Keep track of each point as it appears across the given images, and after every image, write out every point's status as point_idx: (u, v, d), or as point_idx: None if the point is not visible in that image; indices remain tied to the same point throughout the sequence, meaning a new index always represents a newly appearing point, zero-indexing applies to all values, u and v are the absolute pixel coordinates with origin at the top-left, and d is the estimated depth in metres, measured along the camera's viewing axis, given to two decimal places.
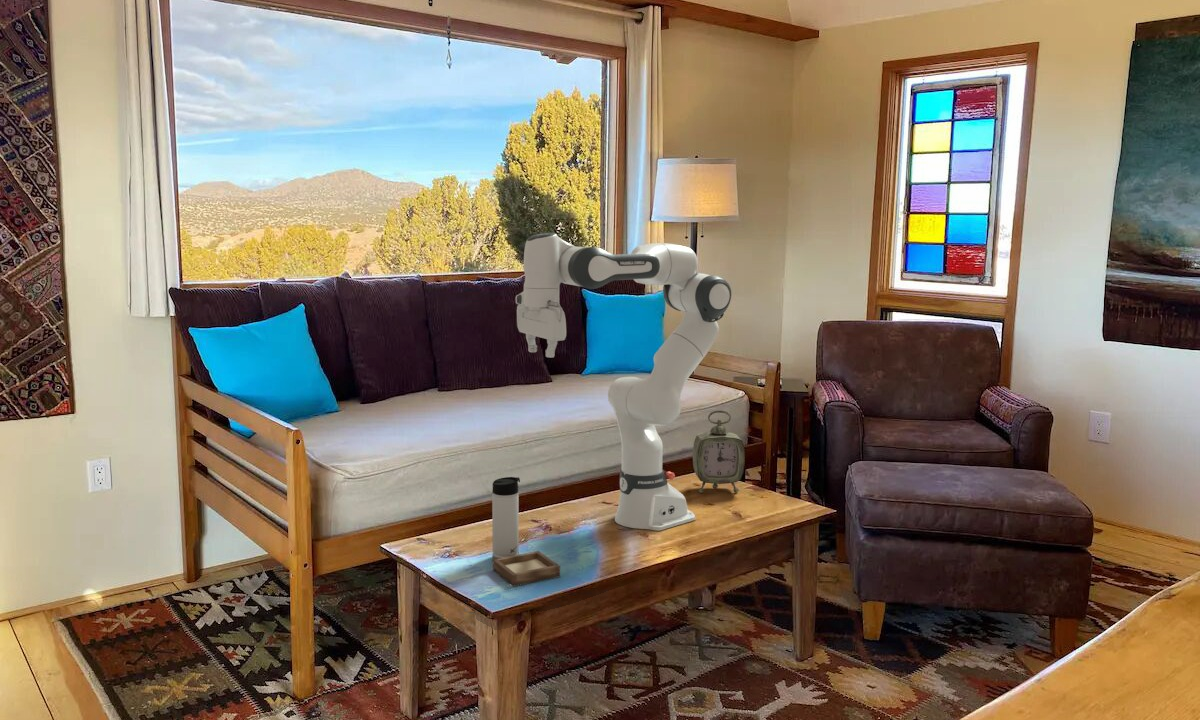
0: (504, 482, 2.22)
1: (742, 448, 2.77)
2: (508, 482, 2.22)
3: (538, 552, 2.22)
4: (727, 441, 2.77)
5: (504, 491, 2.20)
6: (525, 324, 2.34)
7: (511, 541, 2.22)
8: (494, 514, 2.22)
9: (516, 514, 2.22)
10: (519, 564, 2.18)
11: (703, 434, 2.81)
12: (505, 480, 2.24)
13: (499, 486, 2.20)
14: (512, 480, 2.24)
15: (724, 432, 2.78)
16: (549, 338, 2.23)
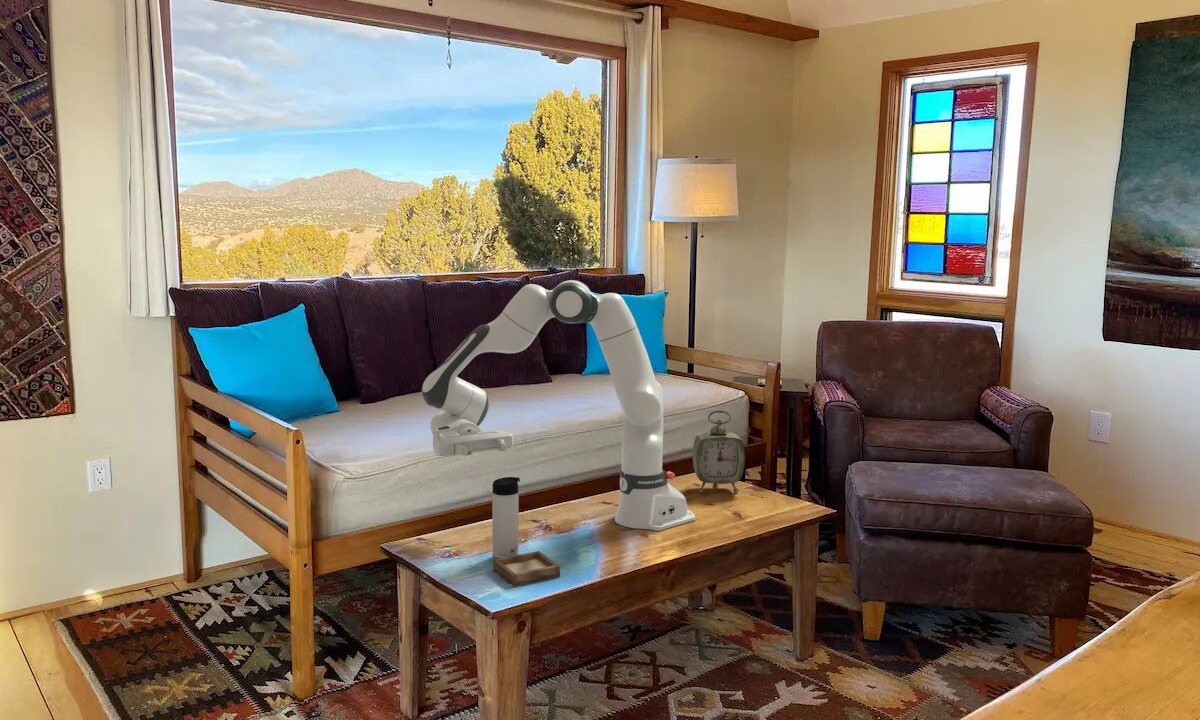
0: (504, 482, 2.22)
1: (742, 448, 2.77)
2: (508, 482, 2.22)
3: (538, 552, 2.22)
4: (727, 441, 2.77)
5: (504, 491, 2.20)
6: (455, 439, 2.34)
7: (511, 541, 2.22)
8: (494, 514, 2.22)
9: (516, 514, 2.22)
10: (519, 564, 2.18)
11: (703, 434, 2.81)
12: (505, 480, 2.24)
13: (499, 486, 2.20)
14: (512, 480, 2.24)
15: (724, 432, 2.78)
16: (505, 435, 2.40)
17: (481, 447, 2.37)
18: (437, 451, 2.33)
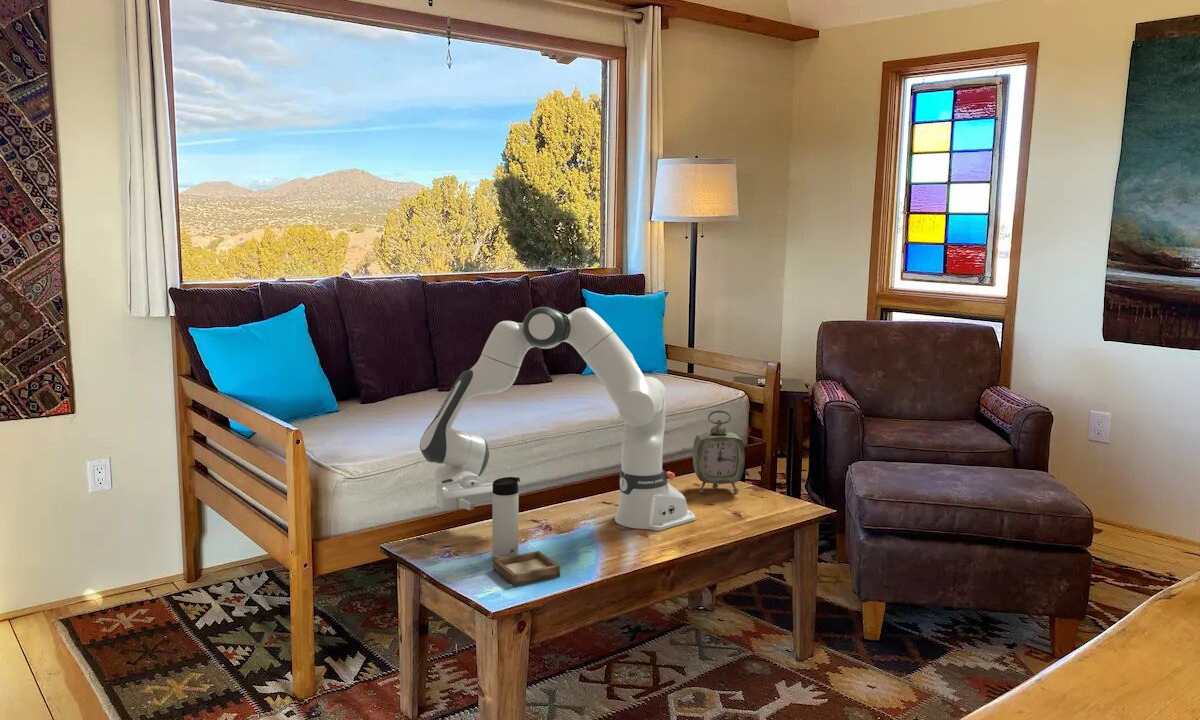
0: (504, 482, 2.22)
1: (742, 448, 2.77)
2: (508, 482, 2.22)
3: (538, 552, 2.22)
4: (727, 441, 2.77)
5: (504, 491, 2.20)
6: (458, 492, 2.35)
7: (511, 541, 2.22)
8: (494, 514, 2.22)
9: (516, 514, 2.22)
10: (519, 564, 2.18)
11: (703, 434, 2.81)
12: (505, 480, 2.24)
13: (499, 486, 2.20)
14: (512, 480, 2.24)
15: (724, 432, 2.78)
16: None
17: (484, 500, 2.37)
18: (440, 505, 2.33)
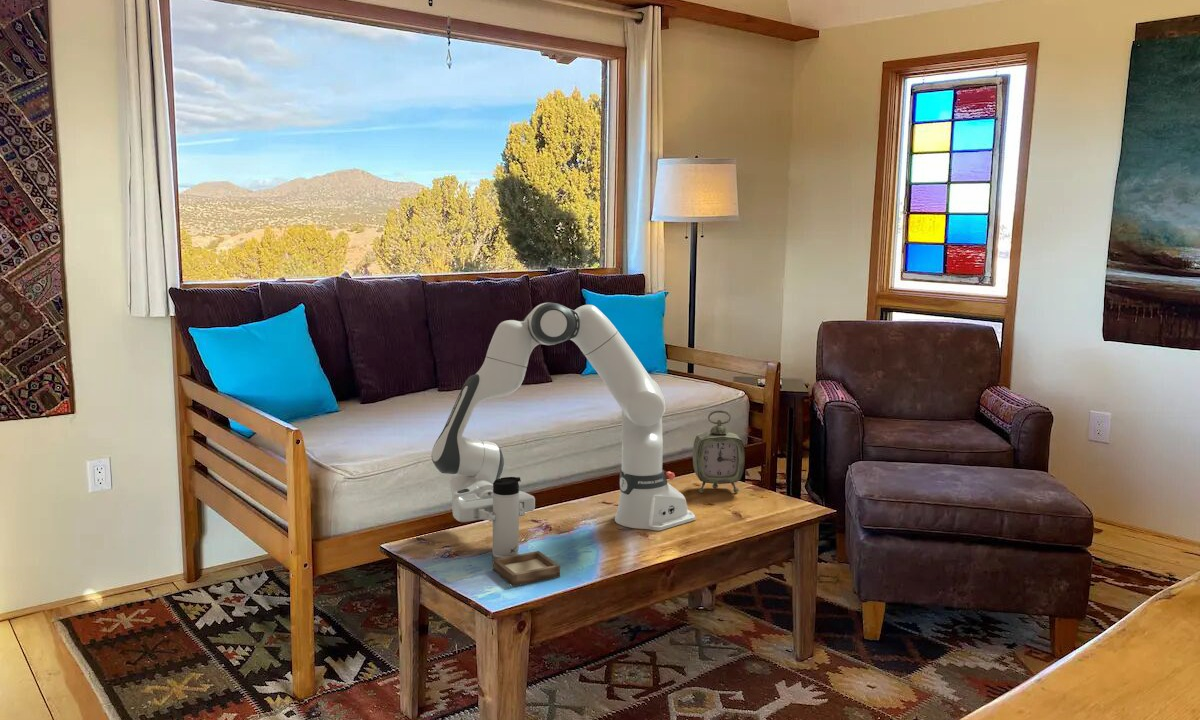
0: (505, 482, 2.23)
1: (742, 448, 2.77)
2: (509, 482, 2.22)
3: (538, 552, 2.22)
4: (727, 441, 2.77)
5: (504, 490, 2.20)
6: (475, 503, 2.26)
7: (511, 541, 2.22)
8: None
9: (516, 514, 2.22)
10: (519, 564, 2.18)
11: (703, 434, 2.81)
12: (506, 480, 2.24)
13: (500, 486, 2.20)
14: (513, 480, 2.24)
15: (724, 432, 2.78)
16: (527, 498, 2.31)
17: None
18: (456, 516, 2.24)
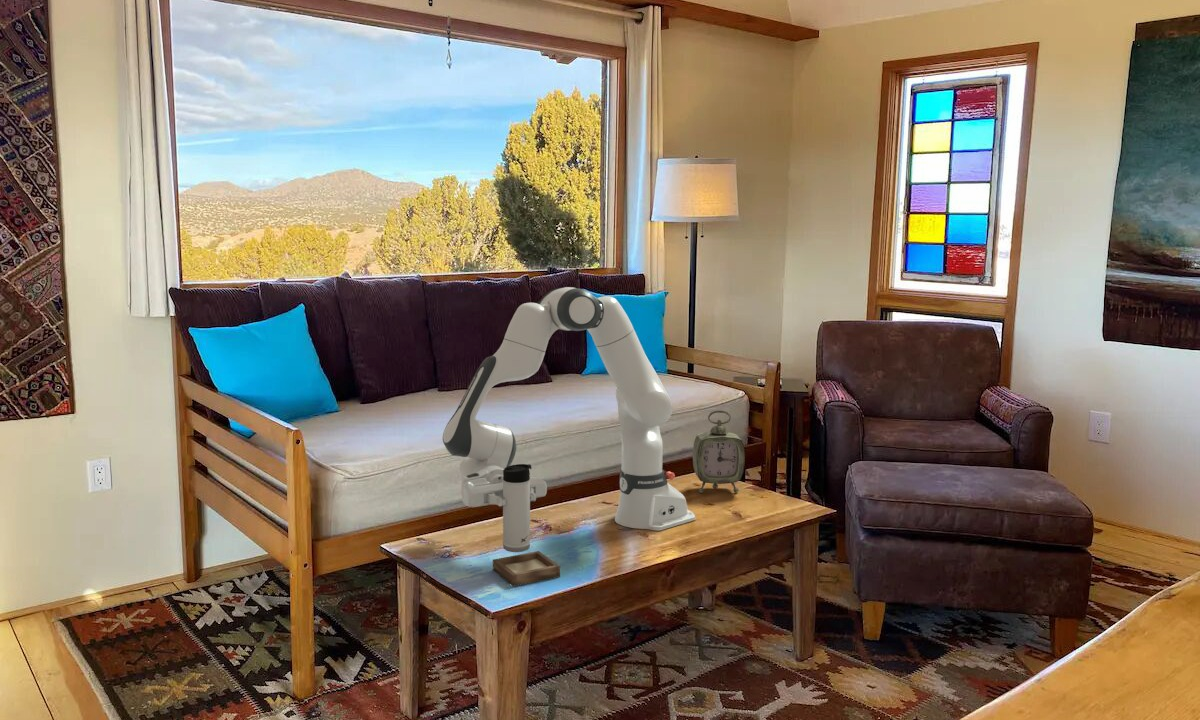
0: (515, 469, 2.16)
1: (742, 448, 2.77)
2: (519, 469, 2.15)
3: (538, 552, 2.22)
4: (727, 441, 2.77)
5: (514, 478, 2.13)
6: (485, 487, 2.19)
7: (522, 530, 2.15)
8: None
9: (527, 502, 2.15)
10: (519, 564, 2.18)
11: (703, 434, 2.81)
12: (516, 467, 2.17)
13: (510, 473, 2.13)
14: (523, 467, 2.17)
15: (724, 432, 2.78)
16: (538, 483, 2.24)
17: None
18: (466, 501, 2.18)
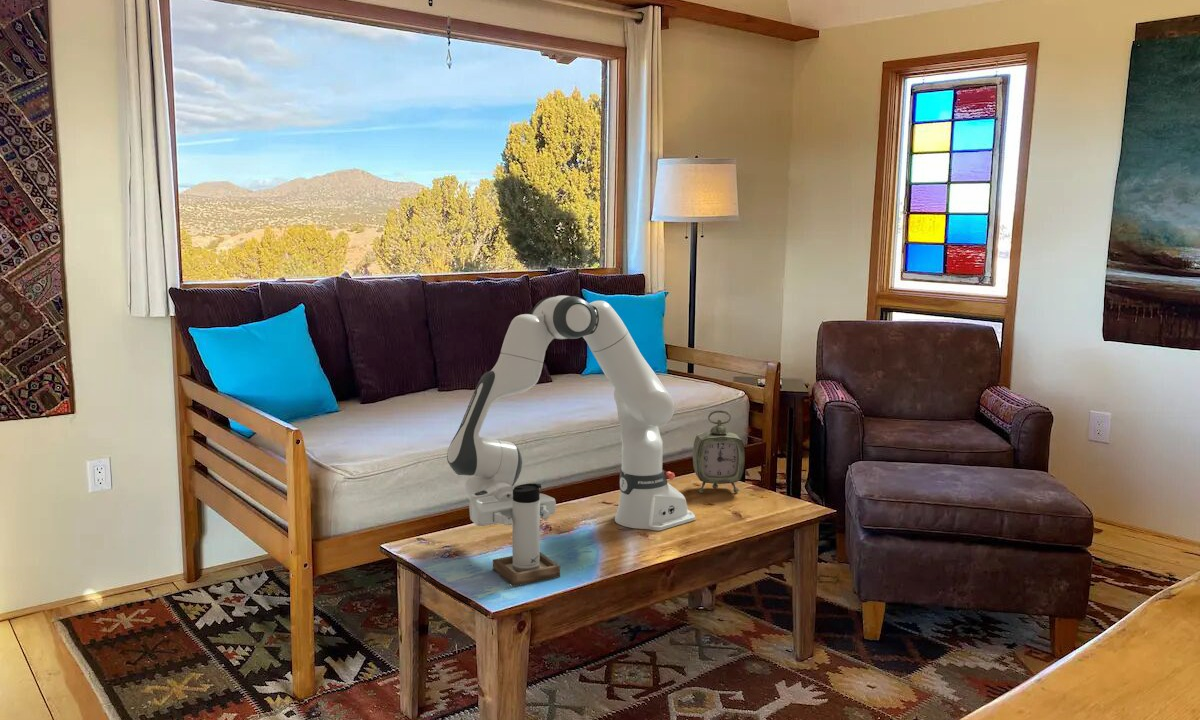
0: (525, 489, 2.13)
1: (742, 448, 2.77)
2: (529, 489, 2.13)
3: None
4: (728, 441, 2.77)
5: (524, 498, 2.10)
6: (494, 506, 2.16)
7: (532, 550, 2.13)
8: (514, 522, 2.12)
9: (537, 522, 2.13)
10: None
11: (703, 434, 2.81)
12: (526, 487, 2.14)
13: (519, 493, 2.10)
14: (533, 487, 2.14)
15: (724, 432, 2.78)
16: (548, 500, 2.21)
17: None
18: (474, 520, 2.15)
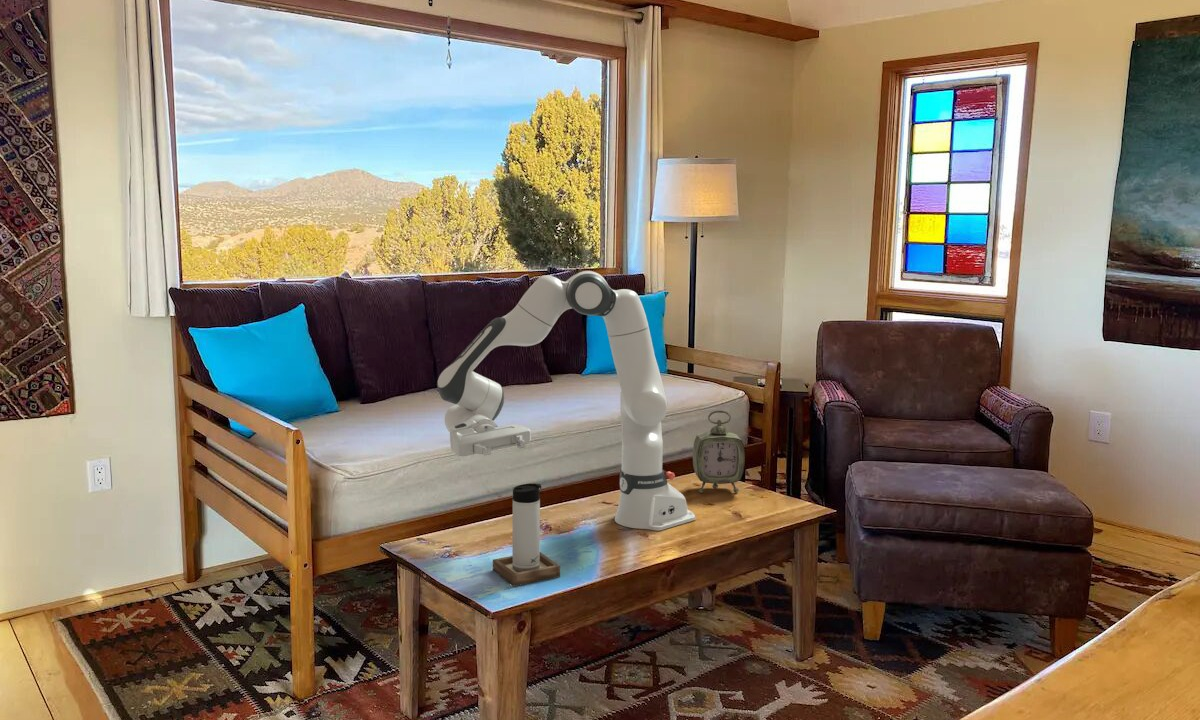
0: (525, 489, 2.13)
1: (742, 448, 2.77)
2: (529, 489, 2.13)
3: None
4: (727, 441, 2.77)
5: (524, 498, 2.10)
6: (473, 437, 2.31)
7: (532, 551, 2.13)
8: (514, 522, 2.12)
9: (537, 522, 2.13)
10: None
11: (703, 434, 2.81)
12: (526, 487, 2.14)
13: (519, 493, 2.10)
14: (533, 487, 2.14)
15: (724, 432, 2.78)
16: (523, 430, 2.37)
17: (499, 444, 2.34)
18: (456, 451, 2.30)
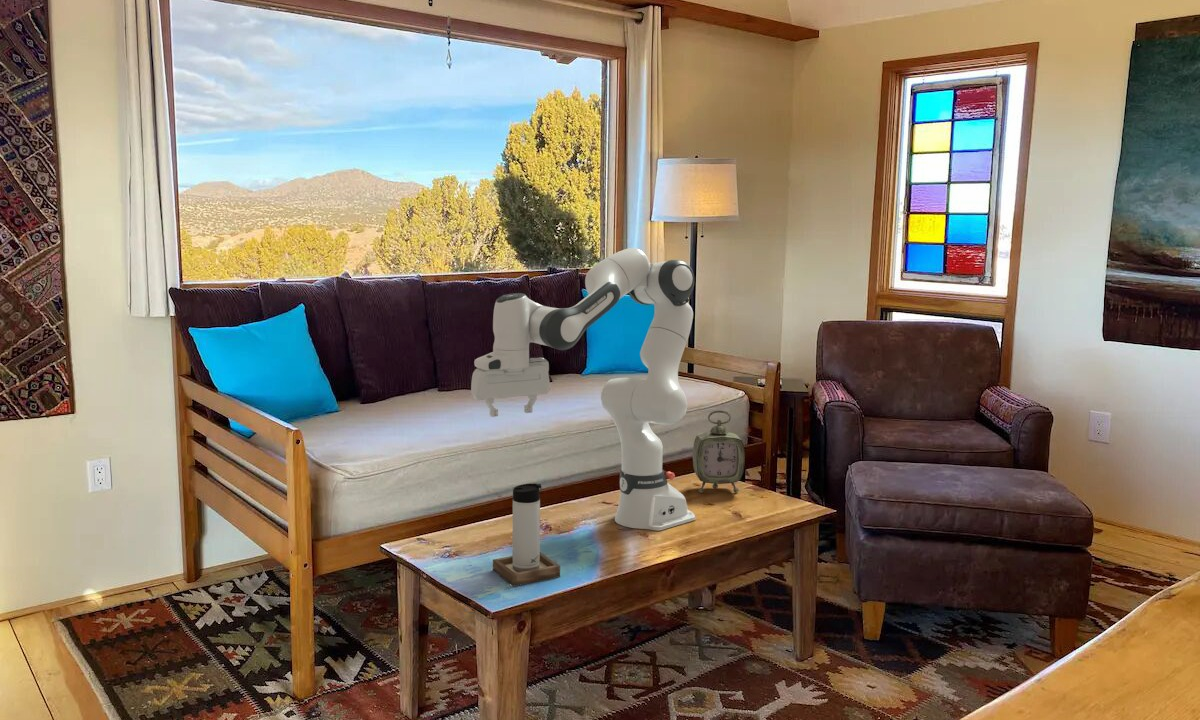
0: (525, 489, 2.13)
1: (742, 448, 2.77)
2: (529, 489, 2.13)
3: None
4: (727, 441, 2.77)
5: (525, 498, 2.10)
6: (494, 389, 2.26)
7: (532, 551, 2.13)
8: (514, 522, 2.12)
9: (537, 522, 2.13)
10: None
11: (703, 434, 2.81)
12: (526, 487, 2.14)
13: (520, 493, 2.10)
14: (533, 487, 2.14)
15: (724, 432, 2.78)
16: (542, 392, 2.33)
17: None
18: (472, 387, 2.26)
